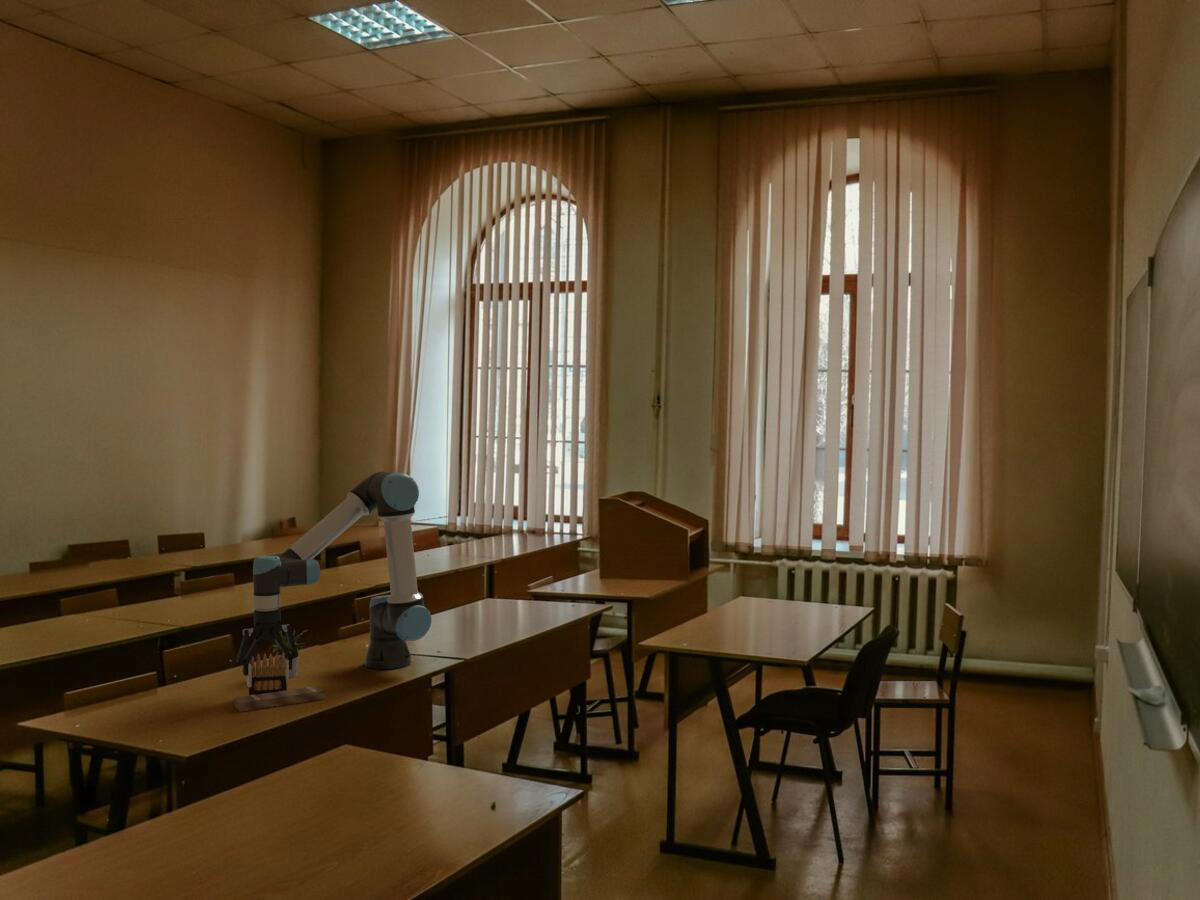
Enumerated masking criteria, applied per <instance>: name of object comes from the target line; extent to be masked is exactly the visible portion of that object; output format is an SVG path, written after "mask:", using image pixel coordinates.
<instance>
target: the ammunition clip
mask: <svg viewBox="0 0 1200 900" xmlns="http://www.w3.org/2000/svg"><path fill="white" fill-rule="evenodd" d="M256 655H257V656H256V660H255V657H254V656H253V657H252V658H251V660H250V662H249V663H250V664H251V674H252V687H248V696H250V695H254V694H255V695H258V694H265V693H272V692H279V691H286V690H288V682H286V662H285V654H284V652H283V653H282V654H281V655H282V656H281V655H280V654H279V653H278V652H276V653H275V657H273V652H270V653H269V657H268V658H267V654H266V653H265V652H264V653H263V655H262V663H261V656H260V653H257V654H256ZM279 656H281V667H280V665H279ZM273 658H274V659H273ZM255 661H256V663H255ZM261 665H262V666H261ZM280 673H281V675H280Z"/></svg>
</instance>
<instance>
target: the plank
mask: <svg viewBox="0 0 1200 900" xmlns="http://www.w3.org/2000/svg"><path fill="white" fill-rule="evenodd" d="M323 700H326V691H325V690H324V688H322V687H321V686H319V685H316V686H306V687H303V688H302V687H301V688H295V689H287V690H286V691H279V692H272V693H265V694H258V695H255V694H254V695H245V696H238V697H234V698H233V702H234V703H233V704H234V705H233V706H234V708H235V709H236V710H237V711H238V712H240V713H241V712H247V711H248V710H249V711H254V710H255V709H256V710H260V709H261V708H263V709H268V708H267V707H269V708H275V707H274V706H276V707H282V705H283V706H290V705H296V704H302V703H309V702H310V703H311V702H315V701H323Z"/></svg>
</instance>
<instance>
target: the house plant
mask: <svg viewBox="0 0 1200 900" xmlns="http://www.w3.org/2000/svg"><path fill="white" fill-rule="evenodd" d="M307 631H309V629H306V630H303V631H302V632H301V633H299V634H296V630H294V631H293V633H292V636H293V639H294V642H295V645H296V648H297V651H298V652H299V650H300V649H301V648H303V647H305V644H306V643H305V642H304V643H301V642H300V643H297V642H298V640H299V639H300V638H301V637H302V635H303V634H304V633H306V632H307ZM295 635H296V636H295ZM279 637H280V638H281V640H282V642H283V643H284V645H285V646H286V648H287V649H288V651H289V652H290V653H292V651H291V648H290V645H289V642H288V639H287V636H284V635H283V631H282V630H281V631H280V633H279ZM273 641H274V643H276V644H273V645H271V646H270V648H271V649H272V650H273V651H272V654H274V653H275V652H276V653H278V655H279V665H280V667H281V656H282V653H283V651H282V650H281V648H280V647H279V645H278V644H277V642H276V641H275V639H274V640H273ZM301 645H302V646H301ZM285 659H287V657H286V656H285ZM299 661H300V655H298V656H297V657H294V658H293V659H292V670H289V679H293V678H296V677H297V674H298V668H299ZM280 675H281V673H280Z"/></svg>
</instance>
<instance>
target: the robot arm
mask: <svg viewBox="0 0 1200 900" xmlns="http://www.w3.org/2000/svg"><path fill="white" fill-rule="evenodd" d="M419 496H420V490H419V486H418V484H417V482H416V480H415V479H414V478H413V477H411V476H410V475H409V474H405V473H402V472H398V471H397V472H396V471H391V472H390V471H378V472H377V471H376V472H375V473H372V474H370V475H368V476H367V477H366V478H365V479H363V480H362V481H360V482H359V483H358V484H357V485H355V486H354V487H353V488H352V489H351V490H350V491H348V493H347V495H346V498H345V499H344V500H342V502H341V503H339V504H338V505H337V506H336V507H335V508H334V509H332V510H331V511H330V512H329V513H328V514H327V515H326V516H324V518H322V519H321V520H320V521H318V523H316V524H315V525H314V526H313V527H312V528H310V529H309V530H307V532H306V533H304V535H302V536H301V537H300V538H299V539H297V540H296V541H295V542H294V543H292V545H291V546H289V547H288V548H287V549H286V550H284V551H283V552H282V553H281V554H277V555H261V556H260V555H259V556H256V557H254V560H253V565H252V575H253V576H252V578H253V580H252V581H253V583H252V584H253V608H254V611H253V625H252V627H250V628H242V637H241V638H242V639H241V642H240V646H239V648H238V652H237V655H236V659H235V660H236V662H237V663H238V664H239V665H240V664H241V665H242V673H243V676H245V677H246V687H248V688H249V687H252V674H251V664H250V660H251V658H252V657H254V656H255V655H254V654H255V653H256V651H257V649H258V647H259V646H260V645H261V644H262V642H267V641H274V640H275V641H276V642H277V644H278V645H279V647H280V648H281V650H282V651H283V652H284V654H285V656H286V657H287V659H285V662H286V682H287V683H289V682H290V678H289V670H292V659H293V658H294V657H297V656H299V650H298V651H297V648H298V647H296V645H295V642H294V639H293V636H292V635H293V633H292V632H293V626H292V624H289V623H286V624H282V623H281V622H282V617H281V615H282V614H281V609H280V608H281V588H286V587H294V586H295V587H296V586H298V587H299V586H305V585H306V586H309V585H313V584H317V583H318V582H319V581H320V579H321V566H320V564H319V561H317V560H316V559H314V558H315V557H317V556H318V555H319V554H320V553H321V552H322V551H323V550H325V549H326V548H327V547H328V546H329V545H330V544H331V543H333V542H334V541H335V540H336V539H337V538H338V537H339V536H341V535H342V534H343V533H344V532H345V531H347V530H348V529H349V528H350V527H351V526H352V525H354V524H355V523H356V522H357V521H358V520H359V519H360V518H361V517H363V516H364V517H365V516H366V517H367V516H368V515H370V514H371V513H372V512H373V511H376V510H377V518H379V519H380V520H382V522H383V530H384V539H385V548H386V558H387V569H388V577H389V588H390V589H389V590H390V594H386V595H379V596H374V597H371V598H370V600H369V606H368V609H369V644H368V648H367V651H366V654H365V657H364V666H365V667H366V668H368V669H374V670H375V669H376V670H390V669H391V670H392V669H400V668H404V667H407V666H410V665H411V664H412V655H411V652H410V649H409V646H408V643H407V641H409V642H415V641H418V640H421V639H422V638H423V637H425V636H426V635H427V633H428V632H429V630H430V628H431V625H432V615H431V612H430V611H429V609H428V608H427V607H425V602H424V601H425V600H424V599H425V598H424V595H423V594H422V593H421V592H419V590H418V581H417V571H416V568H417V567H416V559H415V550H414V549H415V548H414V541H413V539H414V538H413V530H412V529H413V528H412V520H411V519H412V517H413V516H414V514H415V512H416V510H415V505H416V504H417V502H418V500H419ZM282 630H283V631H282ZM280 631H282V632H285V637H286V639H288V642H289V645H290V648H291V651H292V653H290V652H289V651H288V649H287V648H286V646H285V645H284V643H283V641H282V638H281V636H280ZM252 633H254V635H255V637H254V639H253V641H252V644H251V645H250V646H249V649H248V650H247V648H248V647H247V646H248V644H249V639H250V637H251V636H252ZM275 641H274V642H275ZM276 642H275V643H276ZM277 644H276V645H277ZM278 645H277V646H278ZM246 650H247V652H246Z"/></svg>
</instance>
